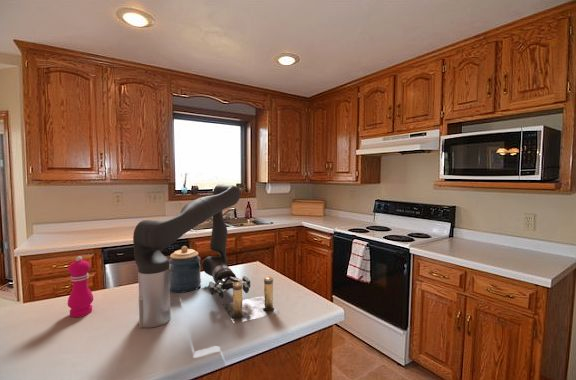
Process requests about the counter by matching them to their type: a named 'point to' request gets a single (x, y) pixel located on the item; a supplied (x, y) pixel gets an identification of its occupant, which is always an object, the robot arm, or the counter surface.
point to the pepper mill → (80, 289)
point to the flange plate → (250, 309)
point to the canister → (184, 270)
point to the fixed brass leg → (268, 293)
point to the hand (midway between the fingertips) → (235, 292)
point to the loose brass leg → (237, 300)
